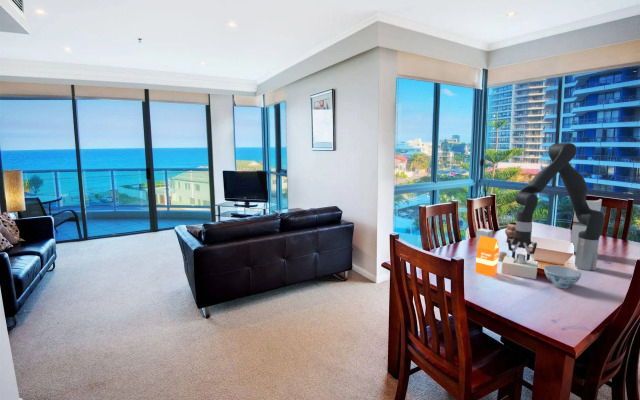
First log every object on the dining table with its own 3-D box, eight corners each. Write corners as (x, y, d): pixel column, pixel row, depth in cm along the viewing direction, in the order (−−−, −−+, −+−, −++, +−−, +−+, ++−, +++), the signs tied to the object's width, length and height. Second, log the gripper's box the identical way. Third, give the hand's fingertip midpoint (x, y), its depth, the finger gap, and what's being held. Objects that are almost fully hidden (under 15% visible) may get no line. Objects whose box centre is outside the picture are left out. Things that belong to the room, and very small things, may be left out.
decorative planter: (511, 238, 250) (512, 219, 248) (529, 241, 241) (531, 222, 239) (500, 243, 237) (501, 224, 235) (519, 247, 228) (521, 227, 226)
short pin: (506, 260, 206) (507, 252, 205) (505, 262, 202) (506, 254, 201) (498, 259, 208) (499, 251, 207) (498, 261, 205) (498, 253, 204)
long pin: (523, 272, 188) (525, 254, 186) (523, 274, 185) (525, 256, 183) (515, 270, 190) (517, 253, 188) (514, 272, 187) (516, 255, 185)
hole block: (536, 271, 188) (538, 261, 187) (535, 279, 178) (537, 268, 177) (504, 266, 197) (504, 256, 196) (501, 272, 187) (502, 262, 186)
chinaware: (580, 294, 160) (582, 279, 159) (542, 287, 168) (544, 272, 167) (577, 283, 173) (579, 268, 172) (542, 277, 181) (544, 263, 179)
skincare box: (492, 253, 219) (494, 230, 216) (487, 254, 216) (488, 232, 213) (480, 249, 226) (481, 227, 223) (474, 251, 223) (476, 229, 220)
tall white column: (589, 258, 208) (597, 201, 202) (569, 254, 216) (575, 199, 209) (594, 254, 215) (602, 199, 209) (573, 250, 223) (580, 197, 217)
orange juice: (480, 268, 193) (483, 234, 190) (497, 272, 187) (500, 237, 184) (475, 272, 188) (477, 237, 184) (491, 276, 182) (495, 240, 178)
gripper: (539, 229, 182) (536, 259, 185) (509, 226, 190) (506, 255, 193) (539, 232, 176) (535, 264, 179) (507, 229, 184) (504, 258, 187)
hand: (520, 259), depth 186 cm, fingers open, 5 cm apart
